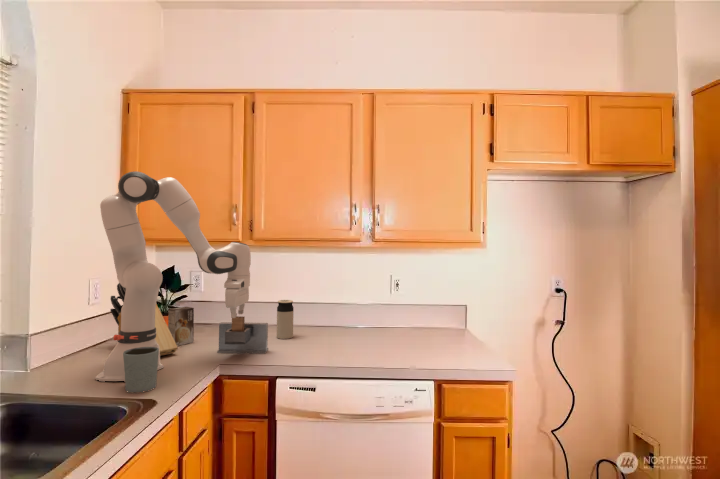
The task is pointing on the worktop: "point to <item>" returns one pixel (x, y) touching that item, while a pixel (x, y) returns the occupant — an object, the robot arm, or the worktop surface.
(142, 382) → the grey-green planter pot
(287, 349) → the worktop surface
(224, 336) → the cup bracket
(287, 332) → the travel mug
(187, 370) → the worktop surface
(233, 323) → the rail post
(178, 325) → the coffee box
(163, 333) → the knife block
